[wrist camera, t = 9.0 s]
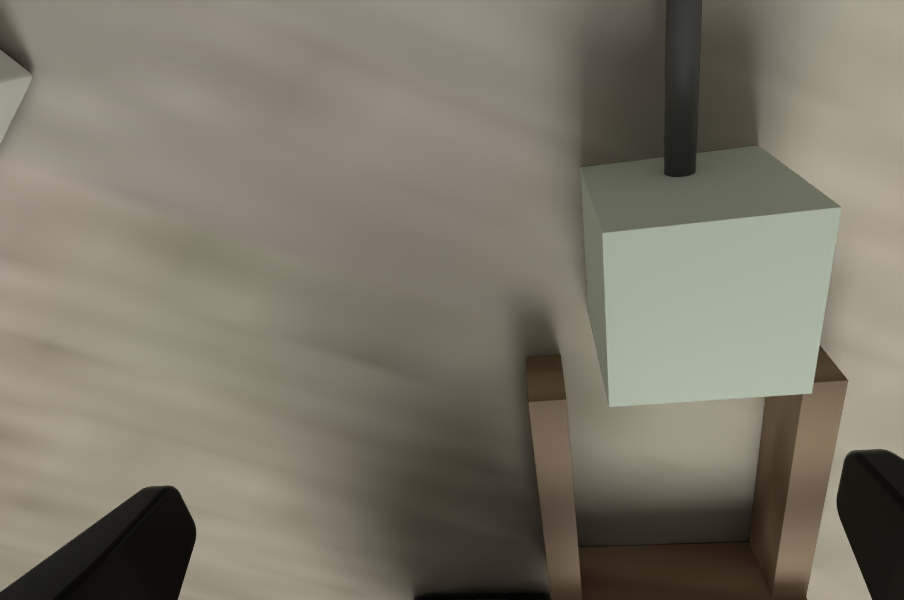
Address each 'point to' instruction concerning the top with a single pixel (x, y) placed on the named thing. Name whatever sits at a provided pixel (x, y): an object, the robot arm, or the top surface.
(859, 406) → the top surface
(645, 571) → the walnut lane
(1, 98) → the milk carton
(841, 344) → the top surface
